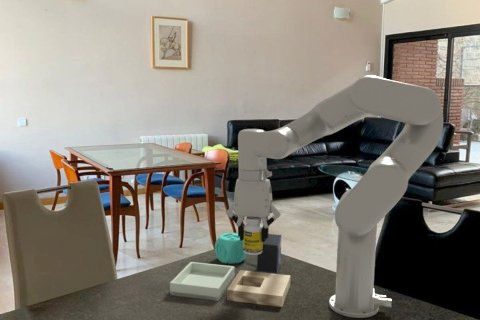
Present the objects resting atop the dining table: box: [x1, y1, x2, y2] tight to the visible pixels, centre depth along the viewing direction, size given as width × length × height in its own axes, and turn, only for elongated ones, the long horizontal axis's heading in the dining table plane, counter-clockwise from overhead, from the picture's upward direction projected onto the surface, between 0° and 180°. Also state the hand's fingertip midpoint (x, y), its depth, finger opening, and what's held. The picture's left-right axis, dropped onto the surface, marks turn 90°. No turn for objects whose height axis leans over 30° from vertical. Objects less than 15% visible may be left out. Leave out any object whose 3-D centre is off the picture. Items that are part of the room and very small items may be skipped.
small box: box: [256, 233, 282, 274], centre depth 146 cm, size 11×6×10 cm, turn 168°
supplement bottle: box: [243, 217, 263, 256], centre depth 130 cm, size 5×5×10 cm
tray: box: [169, 261, 236, 302], centre depth 136 cm, size 14×16×4 cm
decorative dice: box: [214, 232, 248, 265], centre depth 156 cm, size 8×8×8 cm
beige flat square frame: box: [226, 269, 291, 308], centre depth 132 cm, size 15×14×3 cm
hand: (253, 239), depth 130 cm, fingers closed on supplement bottle, 5 cm apart
